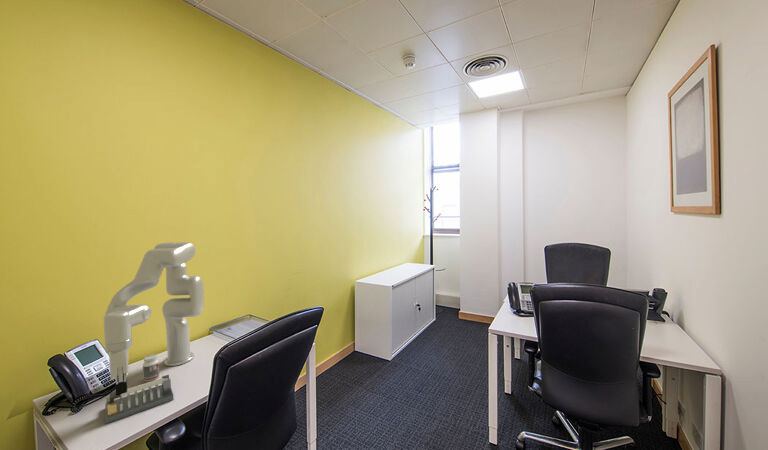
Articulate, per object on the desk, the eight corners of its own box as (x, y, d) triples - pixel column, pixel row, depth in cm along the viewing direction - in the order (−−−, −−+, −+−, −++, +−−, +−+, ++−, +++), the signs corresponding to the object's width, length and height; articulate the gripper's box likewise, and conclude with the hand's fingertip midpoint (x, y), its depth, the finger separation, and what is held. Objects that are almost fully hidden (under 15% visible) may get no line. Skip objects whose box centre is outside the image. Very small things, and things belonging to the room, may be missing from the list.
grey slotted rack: (105, 408, 115) (104, 390, 115) (169, 386, 129) (168, 371, 128) (105, 424, 106) (103, 405, 106) (173, 399, 120) (172, 382, 119)
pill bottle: (161, 376, 137) (160, 355, 136) (147, 383, 132) (145, 361, 131) (155, 373, 140) (154, 352, 139) (141, 379, 135) (139, 358, 134)
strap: (167, 378, 125) (166, 375, 125) (168, 382, 122) (168, 379, 122) (110, 395, 113) (109, 393, 113) (109, 400, 110) (109, 398, 110)
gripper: (105, 341, 116) (108, 388, 116) (104, 354, 105) (107, 406, 105) (131, 335, 121) (133, 380, 121) (132, 348, 110) (135, 397, 110)
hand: (121, 392), depth 113 cm, fingers closed
